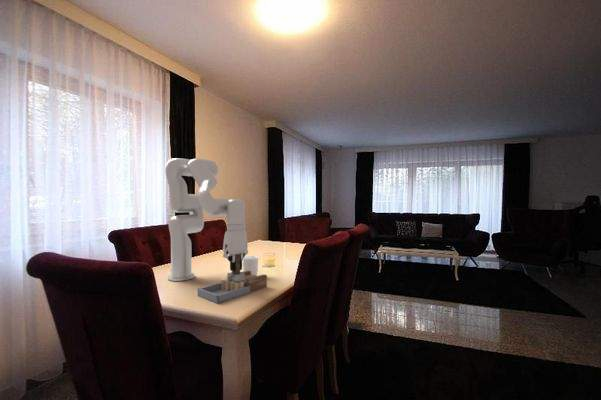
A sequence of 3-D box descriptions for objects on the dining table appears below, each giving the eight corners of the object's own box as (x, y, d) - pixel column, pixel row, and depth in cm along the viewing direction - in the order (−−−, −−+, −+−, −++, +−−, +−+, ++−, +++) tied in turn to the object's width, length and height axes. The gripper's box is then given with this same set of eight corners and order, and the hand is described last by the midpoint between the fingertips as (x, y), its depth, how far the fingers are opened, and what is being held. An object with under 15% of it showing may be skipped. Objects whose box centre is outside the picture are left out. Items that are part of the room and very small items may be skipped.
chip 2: (238, 289, 124) (230, 291, 121) (238, 280, 124) (230, 282, 121) (243, 291, 122) (236, 293, 119) (243, 281, 122) (236, 283, 119)
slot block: (230, 286, 129) (230, 274, 129) (248, 281, 137) (248, 270, 137) (249, 292, 121) (249, 279, 121) (266, 287, 129) (266, 275, 129)
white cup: (240, 276, 147) (240, 257, 147) (255, 274, 150) (255, 255, 150) (245, 280, 140) (244, 259, 140) (260, 278, 143) (260, 258, 143)
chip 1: (229, 287, 127) (221, 289, 124) (229, 278, 127) (221, 280, 124) (234, 288, 125) (227, 291, 122) (234, 279, 125) (227, 281, 122)
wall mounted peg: (227, 279, 124) (227, 252, 125) (235, 277, 128) (234, 251, 128) (237, 281, 120) (237, 254, 120) (245, 279, 123) (244, 252, 123)
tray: (197, 295, 117) (197, 288, 117) (230, 286, 130) (230, 280, 130) (217, 303, 108) (217, 296, 108) (250, 293, 121) (250, 286, 121)
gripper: (245, 225, 132) (245, 265, 132) (214, 228, 120) (214, 272, 120) (255, 226, 127) (256, 268, 128) (225, 230, 115) (225, 275, 115)
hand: (236, 269), depth 124 cm, fingers closed on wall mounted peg, 2 cm apart
